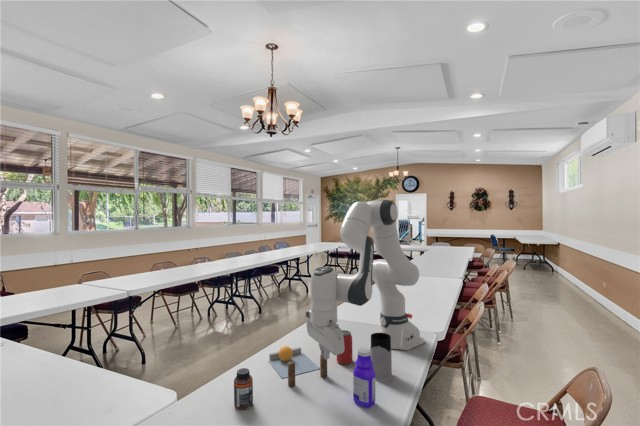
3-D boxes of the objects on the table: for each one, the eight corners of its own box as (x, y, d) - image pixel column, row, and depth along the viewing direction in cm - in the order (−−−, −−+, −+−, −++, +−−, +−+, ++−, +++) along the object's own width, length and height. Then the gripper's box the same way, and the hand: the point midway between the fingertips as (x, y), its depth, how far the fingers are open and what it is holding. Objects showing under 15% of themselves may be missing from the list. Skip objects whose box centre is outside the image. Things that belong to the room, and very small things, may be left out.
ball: (289, 343, 143) (295, 348, 138) (288, 358, 142) (294, 362, 137) (276, 344, 140) (282, 349, 135) (275, 359, 140) (281, 364, 134)
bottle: (378, 403, 107) (378, 350, 107) (369, 411, 103) (368, 355, 103) (360, 395, 112) (359, 344, 112) (350, 402, 108) (349, 349, 108)
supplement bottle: (235, 400, 110) (235, 366, 110) (254, 399, 110) (253, 365, 110) (232, 411, 104) (232, 375, 104) (251, 410, 105) (251, 374, 104)
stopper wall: (299, 352, 147) (299, 347, 147) (301, 353, 145) (301, 348, 145) (269, 359, 140) (269, 353, 140) (270, 360, 139) (270, 354, 139)
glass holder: (367, 379, 123) (366, 338, 123) (375, 362, 136) (374, 326, 136) (390, 383, 120) (390, 342, 120) (396, 366, 133) (396, 328, 133)
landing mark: (303, 353, 145) (303, 353, 145) (320, 368, 131) (320, 368, 131) (268, 361, 138) (268, 361, 138) (282, 378, 124) (282, 378, 124)
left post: (293, 382, 121) (293, 360, 121) (296, 385, 119) (296, 363, 119) (287, 384, 120) (286, 362, 120) (289, 387, 118) (289, 365, 117)
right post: (325, 374, 127) (325, 353, 127) (328, 377, 125) (328, 356, 125) (319, 375, 126) (318, 354, 126) (322, 378, 123) (322, 357, 123)
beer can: (351, 365, 134) (351, 336, 134) (335, 364, 135) (335, 335, 135) (353, 358, 140) (352, 330, 140) (337, 357, 142) (337, 329, 141)
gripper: (348, 324, 103) (349, 368, 103) (318, 307, 121) (319, 344, 121) (331, 328, 100) (332, 373, 100) (303, 310, 118) (304, 348, 118)
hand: (325, 357), depth 111 cm, fingers closed
